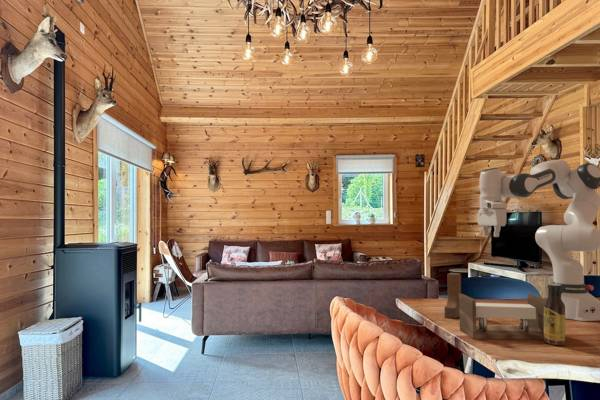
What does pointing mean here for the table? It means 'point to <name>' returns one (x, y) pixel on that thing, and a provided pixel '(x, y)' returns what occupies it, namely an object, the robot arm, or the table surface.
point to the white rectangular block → (505, 311)
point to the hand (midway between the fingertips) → (491, 236)
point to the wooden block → (453, 295)
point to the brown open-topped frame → (528, 331)
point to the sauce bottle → (554, 316)
